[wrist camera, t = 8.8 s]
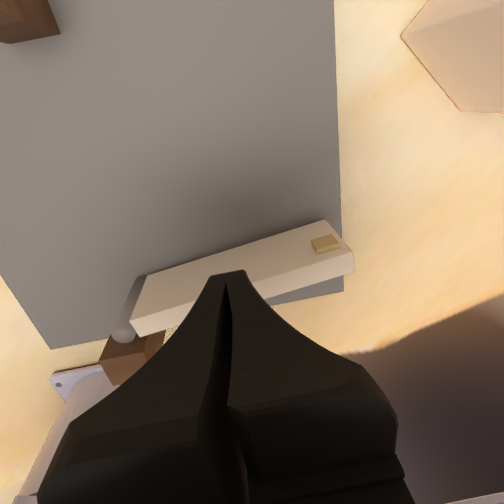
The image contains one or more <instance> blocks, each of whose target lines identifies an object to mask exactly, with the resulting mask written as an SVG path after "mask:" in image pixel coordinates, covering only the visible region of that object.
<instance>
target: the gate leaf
mask: <svg viewBox="0 0 504 504" xmlns="http://www.w3.org/2000/svg"><path fill="white" fill-rule="evenodd" d="M242 269H243V270H244V271H246V273H247V276H248V278H249V280H250V281H251V283H252V285H253V286H254V288H255V289H256V290H257V292H258V293H259V294H260V295H261V297H262V298H263V299H267V298H270V297H273V296H276V295H280V294H283V293H286V292H289V291H293V290H296V289H299V288H303V287H306V286H309V285H312V284H316V283H319V282H322V281H325V280H329V279H332V278H335V277H338V276H342V275H345V274H348V273H351V272H355V271H356V268H355V262H354V256H353V251H352V250H351V249H350V248H349V247H348V245H347V244H346V243H345V242H344V241H343V240H342V238H341V237H340V236H339V235H338V234H337V233H336V231H335V230H334V229H333V228H332V227H331V226H330V224H329V223H328V222H327V221H326V220H325V219H324V220H320V221H317V222H314V223H311V224H308V225H305V226H302V227H298V228H295V229H292V230H289V231H286V232H283V233H280V234H276V235H273V236H270V237H267V238H264V239H261V240H258V241H254V242H251V243H248V244H245V245H242V246H239V247H236V248H232V249H229V250H226V251H223V252H220V253H217V254H214V255H210V256H207V257H204V258H201V259H198V260H195V261H192V262H188V263H185V264H182V265H179V266H176V267H173V268H170V269H166V270H163V271H160V272H157V273H154V274H151V275H148V276H147V277H138V278H137V279H136V280H135V281H134V283H133V286H132V288H131V290H130V292H129V294H128V296H127V299H126V301H125V303H124V305H123V307H122V310H121V312H120V314H119V316H118V318H117V320H116V323H115V325H114V327H113V329H112V331H111V336H112V338H113V339H114V340H115V341H117V342H119V343H129V342H131V341H133V339H134V338H135V335H136V333H137V334H138V336H139V337H143V336H146V335H149V334H153V333H156V332H159V331H162V330H166V329H169V328H172V327H175V326H179V325H180V324H181V323H182V321H183V320H184V319H185V317H186V316H187V314H188V313H189V311H190V310H191V308H192V307H193V305H194V303H195V302H196V300H197V298H198V297H199V295H200V293H201V291H202V290H203V288H204V286H205V284H206V282H207V280H208V278H209V277H210V276H211V275H216V274H221V273H226V272H232V271H237V270H242Z"/></svg>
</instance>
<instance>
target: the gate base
mask: <svg viewBox="0 0 504 504" xmlns="http://www.w3.org/2000/svg"><path fill="white" fill-rule="evenodd" d="M48 2H49V5H50V7H51V10H52V12H53V15H54V18H55V20H56V23H57V25H58V28H59V31H60V33H61V34H59V35H54V36H49V37H44V38H39V39H34V40H29V41H23V42H18V43H13V44H7V43H3V42H0V275H1V277H2V278H3V280H4V281H5V283H6V284H7V286H8V287H9V288H10V290H11V291H12V293H13V294H14V296H15V297H16V299H17V300H18V302H19V303H20V305H21V306H22V308H23V309H24V311H25V312H26V314H27V315H28V317H29V318H30V320H31V321H32V323H33V324H34V326H35V327H36V329H37V330H38V332H39V333H40V335H41V336H42V338H43V339H44V341H45V342H46V343H47V345H48V346H49V348H50V349H51V350H52V349H57V348H62V347H67V346H72V345H77V344H82V343H87V342H92V341H97V340H102V339H107V338H109V337H110V335H111V331H112V329H113V327H114V325H115V323H116V320H117V318H118V316H119V314H120V312H121V310H122V307H123V305H124V303H125V301H126V299H127V296H128V294H129V292H130V290H131V288H132V286H133V283H134V281H135V280H136V279H137V278H138V277H147V276H148V275H151V274H154V273H157V272H160V271H163V270H166V269H170V268H173V267H176V266H179V265H182V264H185V263H188V262H192V261H195V260H198V259H201V258H204V257H207V256H210V255H214V254H217V253H220V252H223V251H226V250H229V249H232V248H236V247H239V246H242V245H245V244H248V243H251V242H254V241H258V240H261V239H264V238H267V237H270V236H273V235H276V234H280V233H283V232H286V231H289V230H292V229H295V228H298V227H302V226H305V225H308V224H311V223H314V222H317V221H320V220H324V219H325V220H326V221H327V222H328V223H329V224H330V226H331V227H332V228H333V229H334V230H335V231H336V233H337V234H338V235H339V236H340V237H341V238H342V227H341V198H340V170H339V142H338V113H337V85H336V57H335V29H334V0H48ZM343 291H344V283H343V275H342V276H338V277H335V278H332V279H329V280H325V281H322V282H319V283H316V284H312V285H309V286H306V287H303V288H299V289H296V290H293V291H289V292H286V293H283V294H280V295H276V296H273V297H270V298H267V299H264V300H265V301H266V303H267V304H268V305H269V306H272V305H277V304H282V303H287V302H292V301H297V300H302V299H307V298H312V297H317V296H322V295H327V294H332V293H338V292H343Z"/></svg>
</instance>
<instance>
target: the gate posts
mask: <svg viewBox="0 0 504 504" xmlns="http://www.w3.org/2000/svg"><path fill="white" fill-rule="evenodd" d="M59 34H61V33H60V31H59V28H58V25H57V23H56V20H55V18H54V15H53V12H52V10H51V7H50V5H49V2H48V0H0V42H3V43H7V44H13V43H18V42H23V41H29V40H34V39H39V38H44V37H49V36H54V35H59ZM165 332H166V330H162V331H159V332H156V333H153V334H149V335H146V336H143V337H139V336H138V334H137V333H136V335H135V338H134V339H133V341H131V342H129V343H119V342H117V341H115V340H114V339H113V338H112V336H111V335H110V337H109V339H108V341H107V343H106V346H105V348H104V350H103V352H102V354H101V357H100V359H99V363H100V365H101V366H102V368H103V370H104V372H105V373H106V375H107V377H108V378H109V380H110V382H111V384H112V385H113V386H116V385H121V384H123V383H124V382H125V381H126V380H127V379H129V378H130V377H131V376H132V375H133V374H134V373H135V372H137V371H138V370H139V369H140V368H141V367H142V366H143V365H144V364H145V363H146V362H147V361H148V360H149V359H150V358H151V357H152V356H153V355H154V354H155V353H156V352H157V351H158V350H159V349H160V348H161V347H162V345H163V341H164V337H165Z"/></svg>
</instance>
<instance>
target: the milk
mask: <svg viewBox="0 0 504 504" xmlns="http://www.w3.org/2000/svg"><path fill="white" fill-rule="evenodd" d="M401 38H402V39H403V40H404V42H405V43H406V44H407V45H408V47H409V48H410V49H411V50H412V52H413V53H414V54H415V55H416V57H417V58H418V59H419V60H420V62H421V63H422V64H423V65H424V66H425V68H426V69H427V70H428V71H429V73H430V74H431V75H432V76H433V78H434V79H435V80H436V81H437V83H438V84H439V85H440V86H441V88H442V89H443V90H444V91H445V92H446V94H447V95H448V96H449V97H450V99H451V100H452V101H453V102H454V104H455V105H456V106H457V107H458V109H459V110H461V111H474V112H489V113H504V0H429V1H428V2H427V3H426V4H425V6H424V7H423V8H422V9H421V11H420V12H419V13H418V14H417V16H416V17H415V18H414V19H413V20H412V22H411V23H410V24H409V25H408V27H407V28H406V29H405V30H404V32H403V33H402V34H401Z"/></svg>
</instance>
